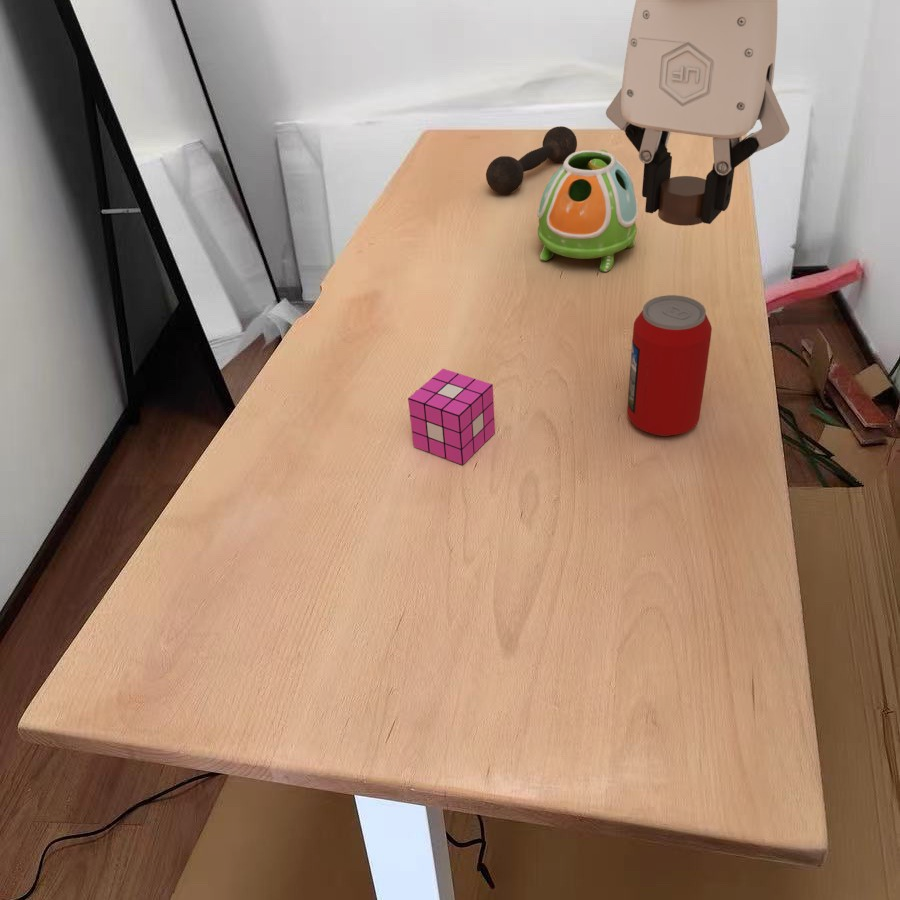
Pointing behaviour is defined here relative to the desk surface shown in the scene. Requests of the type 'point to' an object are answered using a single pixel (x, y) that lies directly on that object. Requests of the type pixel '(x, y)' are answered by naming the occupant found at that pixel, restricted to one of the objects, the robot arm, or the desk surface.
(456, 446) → the puzzle toy
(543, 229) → the turtle holder
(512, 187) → the dumbbell
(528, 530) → the desk surface
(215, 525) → the desk surface
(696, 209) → the dark brown cylinder
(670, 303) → the beverage can
